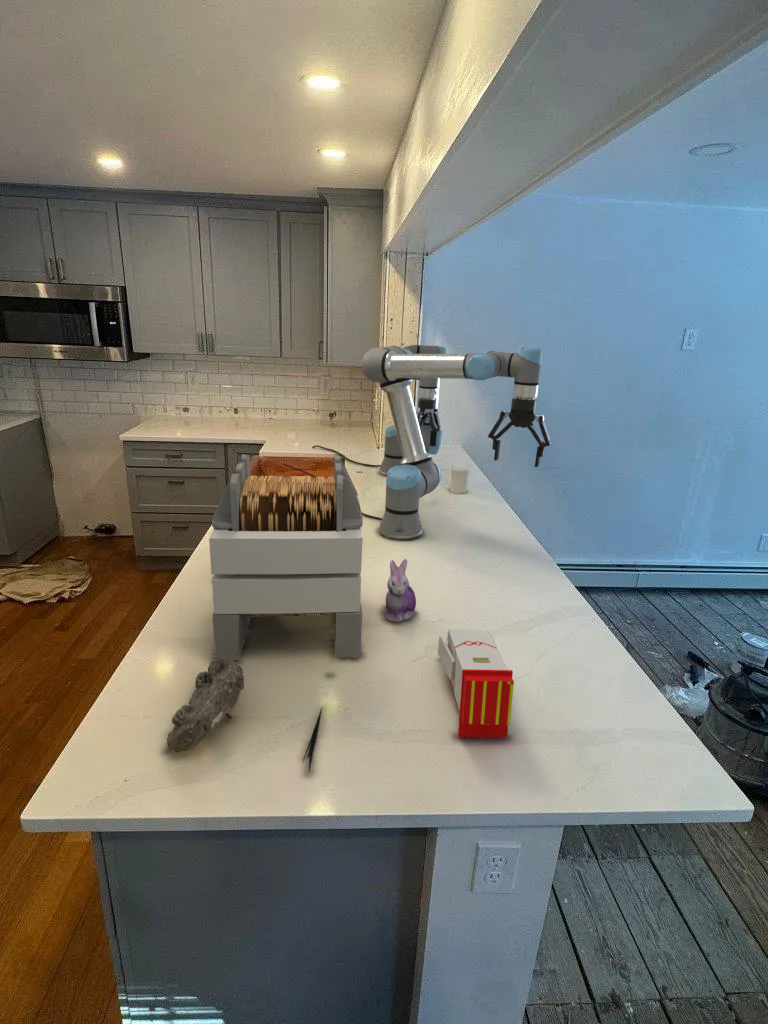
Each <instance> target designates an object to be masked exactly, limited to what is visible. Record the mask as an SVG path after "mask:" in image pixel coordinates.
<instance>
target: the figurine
mask: <svg viewBox="0 0 768 1024" xmlns="http://www.w3.org/2000/svg"><path fill="white" fill-rule="evenodd" d="M407 567H408V559H406V558H404V559H403V560H402V561H401V563H400V565H399V566H398V565H397V563H396V562H395V561H394V560H393V559H391V560H390V561H389V570H390V576H389V578H388V579H387V589H388V591H387V592H386V594H385V595H386V596H385V607H384V615H385V616H386V620H387V621H391V622H395V623H400V622H402V621H406V620H409V619H410V618H411V617H413V616H414V615H415V610H416V606H417V597H416V593H415V591H414V590H413V587H411V586H410V582H409V579H408V577H407V574H406V571H407Z"/></svg>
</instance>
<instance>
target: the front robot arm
mask: <svg viewBox="0 0 768 1024" xmlns="http://www.w3.org/2000/svg"><path fill="white" fill-rule="evenodd" d="M542 359H543V350H542V349H541V348H540V347H530V346H528V347H527V346H520V347H518V349H517V351H516V352H506V351H505V352H504V351H496V350H483V351H481V353H447V354H409V352H408V351H407V350H405V349H404V347H401V346H397V345H390V346H389V345H388V346H378V347H372V348H371V349H369V350H368V351H366V352H365V354H364V355H363V357H362V359H361V370H362V373H363V374H364V376H365V377H366V379H367V380H369V381H371V382H374V383H378V384H379V388H380V390H381V391H383V392H384V393H385V394H386V397H387V402H388V407H389V409H390V413H391V417H392V421H393V425H395V429H396V433H397V437H398V441H399V444H400V448H401V452H402V456H403V459H402V460H401V462H400V466H399V465H397V466H394V467H392V468H391V469H389V471H388V473H387V476H386V479H385V504H384V505H385V507H384V508H385V509H384V513H383V515H382V517H378V516H375V515H370V514H366V513H365V512H362V511H361V514H362V516H364V517H367V518H370V519H375V520H379V521H381V522H379V526H378V533H379V534H380V535H381V536H382V537H385V538H387V539H389V540H395V541H410V540H415V539H418V538H420V537H421V536H422V535H423V525H422V524H421V518H420V515H419V507H420V506H419V505H420V504H419V503H420V499H421V498H423V497H424V496H426V495H428V494H430V493H432V492H433V491H435V489H436V488H437V487H438V486H440V485H439V484H440V482H441V479H442V472H441V469H440V467H439V466H438V464H437V463H435V462H434V461H433V458H432V455H430V454H428V453H427V452H426V451H425V447H424V443H423V439H422V435H421V431H420V427H419V423H418V419H417V415H416V412H417V411H416V408H415V404H414V399H413V397H412V392H411V387H410V385H411V384H412V383H413V380H412V378H440V379H444V380H445V379H448V380H449V379H451V380H452V379H453V380H474V381H485V380H488V379H492V378H496V377H502V378H514V381H513V387H512V388H513V389H512V396H513V398H511V405H510V411H506V410H505V409H504V410H502V411H500V413H499V417H498V419H497V420H496V422H495V424H494V425H493V427H492V429H491V430H490V431H489V433H488V434H487V438H488V439H491V440H492V450H493V451H494V457H493V461H498V460H499V459H500V450H501V449H500V448H501V442H502V441H501V439H500V438H501V437H502V436H503V435H504V434H506V432H508V430H510V429H511V428H512V427H513V426H514V427H515V428H522V429H526V428H527V429H528V430H529V432H530V433H531V435H532V436H533V438H534V439H535V441H536V442H537V444H538V446H537V448H536V455H535V462H534V468H538V467H539V466H540V461H541V458H543V457H544V454H545V448H546V447H550V445H552V440H551V437H550V435H549V431H548V428H547V426H546V422H545V415H544V414H541V415H536V406H537V400H536V398H538V392H539V391H538V390H539V381H540V376H541V375H540V374H541V367H542V365H543V364H542V363H543V362H542ZM506 418H509V420H510V421H509V422H508V423H507V424H506V426H504V427H503V428H502V429H501V430H500V431H499V432H498V433H497V431H498V430H499V428H500V427H501V425H502V423H503V422H504V420H505V419H506ZM534 421H536V422H537V423H538V424H539V429H540V433H541V434H540V433H539V431H538V429H537V428H536V426H535V424H534V423H533V422H534ZM496 433H497V434H496ZM541 435H542V436H541ZM282 466H286V467H288V468H290V469H293V470H295V471H298V472H301V473H303V474H305V475H308V476H311V478H312V477H313V478H314V477H315V479H316V477H317V476H316V475H313V474H312V473H309V472H307V471H305V470H302V469H299V468H297V467H295V466H292V465H289V464H286V463H284V462H283V463H282Z"/></svg>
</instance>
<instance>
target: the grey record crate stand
mask: <svg viewBox="0 0 768 1024" xmlns="http://www.w3.org/2000/svg"><path fill="white" fill-rule="evenodd" d="M333 460H334V461H333V469H334V470H333V476H327V477H325V476H321V475H319V476H316V478H315V477H312V476H310V475H308V476H307V475H290V476H283V475H279V476H278V475H265V476H264V475H259V476H258V475H251V459H250V454H243V453H242V454H241V456H240V459H239V461H238V462H237V464H236V466H235V469H234V471H233V473H232V474H231V475H230V478H229V479H228V482H227V484H226V486H225V489H224V491H223V493H222V496H221V498H220V500H219V502H218V504H217V507H216V508H215V511H214V513H213V516H212V518H211V527H212V528H213V529H212V531H211V534H210V535H209V538H208V543H209V559H210V574H211V575H213V576H212V579H211V587H212V588H211V589H212V600H213V601H212V603H213V612H212V629H213V630H212V631H213V640H214V649H215V657H214V660H217V661H224V660H227V659H228V660H231V659H232V660H234V661H238V660H239V658H240V654H241V653H242V649H243V647H244V645H245V642H246V640H247V636H248V632H247V630H248V629H247V627H249V626H250V624H251V623H250V622H251V618H253V617H254V618H255V617H258V618H259V617H264V618H265V617H267V618H268V617H292V616H293V617H308V616H310V617H311V616H333V618H332V619H333V626H334V627H333V636H334V638H333V639H334V640H333V641H334V658H337V659H342V658H344V659H345V658H347V659H349V658H352V659H358V658H359V657H361V656H362V633H363V632H362V631H363V630H362V629H363V611H362V603H361V590H362V576H361V574H362V563H363V562H362V561H363V534H362V529H361V528H362V527H363V525H364V524H363V523H364V519H363V515H362V514H361V512H362V509H361V505H360V499H359V494H358V492H357V489H356V487H355V485H354V483H353V481H352V478H351V477H350V474H349V472H348V470H347V468H346V466H345V463H344V461H343V459H342V456H341V455H338V454H337V455H336V454H334V458H333Z"/></svg>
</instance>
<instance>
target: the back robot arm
mask: <svg viewBox="0 0 768 1024" xmlns="http://www.w3.org/2000/svg"><path fill="white" fill-rule="evenodd" d="M403 348H404V349H405V350H407V351H408V352H409V354H448V352H447V348H446V347H445V346H440V345H423V344H422V345H420V344H410V345H407V346H404V347H403ZM412 381H419V386H418V399H417V408H419V411H416V415H417V419H418V423H419V427H420V431H421V435H422V439H423V443H424V447H425V451H426V452H427V453H428V454H430V455H431V456H432V455H435V456H436V455H438V453H439V451H440V448H441V447H440V446H441V443H442V437H443V430H442V429H441V428H442V427H441V422H440V418H439V398H440V388H441V387H440V386H441V378H412ZM384 432H385V433H384V451H383V453H384V454H383V458H382V461H381V464H369V463H363V462H359V461H354V460H352V459H350V458H348V457H346V456H345V455H344V454H342V453H341V452H339V451H337V450H335V449H332V448H327V447H325V446H321V445H317V444H315V445H313V446H312V447H311V449H314V448H320V449H323V450H327V451H330V452H333V453H336V454H337V455H338V456H340V457H341V458H343V459H345V460H347V461H348V462H349V463H353V464H355V465H361V466H365V467H374V468H379V474H380V475H382V476H384V477H387V473H388V471H389V469H391V468H392V467H394V466H397V465H399V466H400V462H401V460H402V459H403V456H402V452H401V448H400V444H399V441H398V437H397V433H396V429H395V425H394V424H393V425H390V426H387V427H385V431H384Z"/></svg>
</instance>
